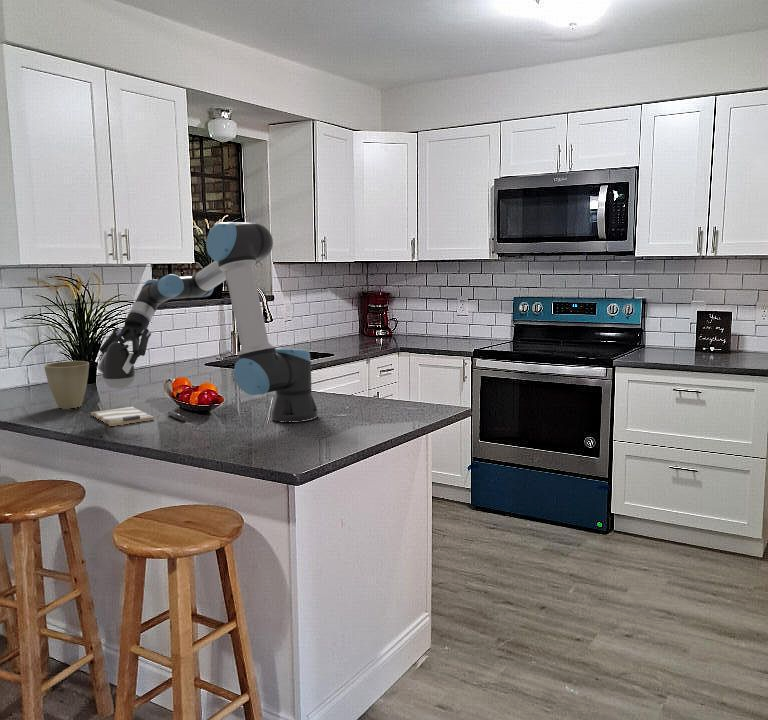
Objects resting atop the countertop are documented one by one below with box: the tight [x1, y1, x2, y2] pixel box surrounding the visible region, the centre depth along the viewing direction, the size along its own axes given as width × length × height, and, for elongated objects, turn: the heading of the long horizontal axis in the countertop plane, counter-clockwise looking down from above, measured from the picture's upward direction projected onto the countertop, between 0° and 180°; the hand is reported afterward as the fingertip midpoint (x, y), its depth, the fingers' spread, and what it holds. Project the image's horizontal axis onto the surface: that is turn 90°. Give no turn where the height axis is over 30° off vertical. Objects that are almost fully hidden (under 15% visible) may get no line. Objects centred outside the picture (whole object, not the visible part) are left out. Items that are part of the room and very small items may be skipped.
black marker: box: [167, 410, 187, 422], centre depth 246 cm, size 14×2×2 cm, turn 36°
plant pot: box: [43, 360, 90, 410], centre depth 267 cm, size 15×15×16 cm
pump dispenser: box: [102, 342, 136, 389], centre depth 246 cm, size 10×10×15 cm
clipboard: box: [90, 406, 155, 427], centre depth 249 cm, size 22×14×2 cm, turn 36°
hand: (112, 370), depth 244 cm, fingers closed on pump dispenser, 9 cm apart
